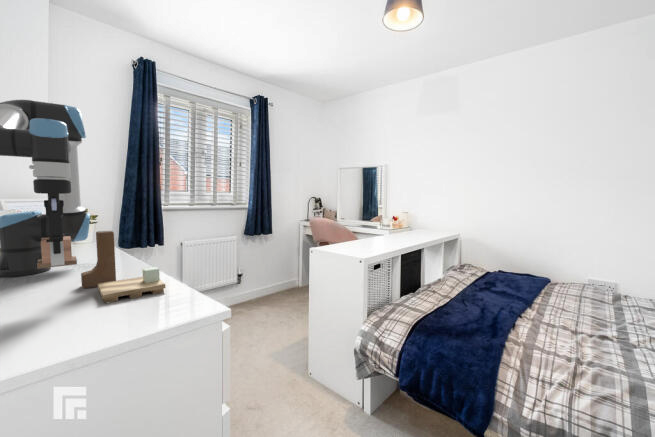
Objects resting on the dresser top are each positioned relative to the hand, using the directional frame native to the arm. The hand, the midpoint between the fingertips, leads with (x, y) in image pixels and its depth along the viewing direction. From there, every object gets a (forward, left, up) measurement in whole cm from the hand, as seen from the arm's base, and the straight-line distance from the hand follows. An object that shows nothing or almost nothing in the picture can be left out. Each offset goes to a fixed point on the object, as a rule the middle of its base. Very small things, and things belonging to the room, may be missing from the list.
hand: (57, 262), depth 84 cm
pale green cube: (0, +22, -9) cm, 24 cm away
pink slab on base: (0, 0, 0) cm, 0 cm away
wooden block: (-15, +10, -12) cm, 21 cm away
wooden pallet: (0, +17, -12) cm, 21 cm away
